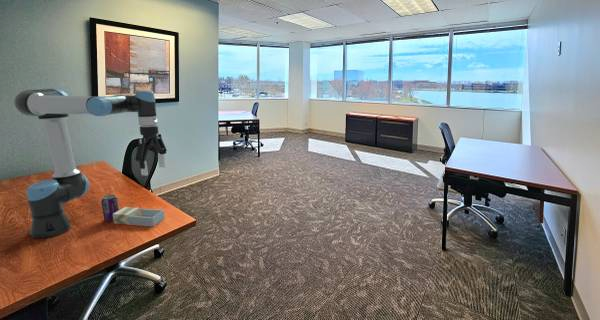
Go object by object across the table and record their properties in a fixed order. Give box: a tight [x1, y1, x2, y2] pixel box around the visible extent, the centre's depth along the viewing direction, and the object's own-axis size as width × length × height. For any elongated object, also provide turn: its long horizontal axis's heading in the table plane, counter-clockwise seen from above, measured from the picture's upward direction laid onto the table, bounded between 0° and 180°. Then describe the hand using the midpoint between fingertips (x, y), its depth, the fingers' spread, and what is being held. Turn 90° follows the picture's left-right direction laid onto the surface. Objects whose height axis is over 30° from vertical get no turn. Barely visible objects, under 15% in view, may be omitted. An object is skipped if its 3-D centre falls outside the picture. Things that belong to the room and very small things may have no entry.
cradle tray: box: [128, 208, 166, 227], centre depth 162 cm, size 13×10×4 cm
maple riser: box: [113, 206, 141, 225], centre depth 163 cm, size 8×9×5 cm
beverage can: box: [100, 194, 120, 222], centre depth 164 cm, size 7×7×12 cm
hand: (153, 171), depth 151 cm, fingers open, 13 cm apart
